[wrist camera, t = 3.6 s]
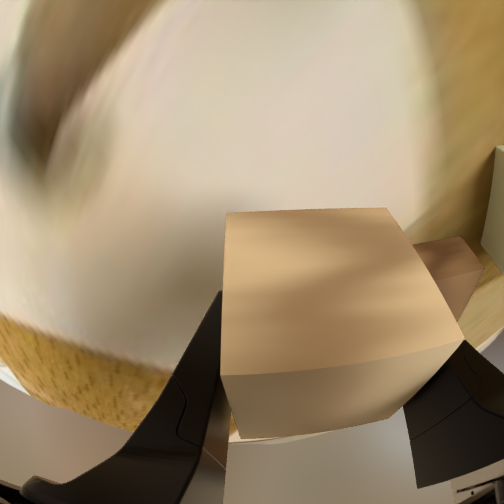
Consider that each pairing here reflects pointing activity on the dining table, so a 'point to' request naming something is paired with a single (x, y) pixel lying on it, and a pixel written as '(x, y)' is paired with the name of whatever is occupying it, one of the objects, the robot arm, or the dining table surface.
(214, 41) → the dining table surface
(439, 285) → the base block
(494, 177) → the block
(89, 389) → the dining table surface
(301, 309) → the oak cube
